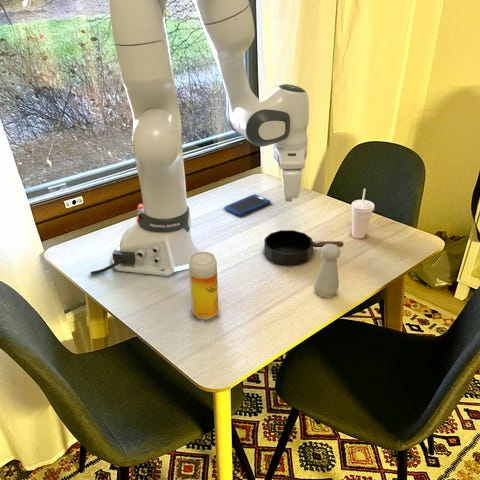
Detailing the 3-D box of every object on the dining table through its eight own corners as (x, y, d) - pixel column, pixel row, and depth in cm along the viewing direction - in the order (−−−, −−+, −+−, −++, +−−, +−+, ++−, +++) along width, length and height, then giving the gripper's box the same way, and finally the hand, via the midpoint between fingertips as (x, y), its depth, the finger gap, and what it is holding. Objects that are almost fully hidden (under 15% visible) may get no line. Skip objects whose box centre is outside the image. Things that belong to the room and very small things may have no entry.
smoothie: (367, 229, 152) (374, 184, 144) (371, 240, 147) (379, 194, 139) (345, 230, 152) (351, 185, 143) (349, 241, 147) (356, 195, 138)
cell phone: (270, 202, 166) (270, 200, 166) (239, 216, 159) (239, 214, 158) (254, 195, 171) (254, 193, 170) (223, 209, 163) (223, 206, 163)
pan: (265, 266, 137) (265, 254, 135) (263, 241, 147) (263, 230, 145) (346, 266, 137) (347, 254, 134) (339, 241, 147) (340, 230, 145)
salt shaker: (336, 301, 124) (343, 254, 116) (312, 298, 125) (317, 252, 117) (338, 287, 129) (344, 241, 121) (315, 285, 130) (319, 239, 122)
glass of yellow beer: (220, 319, 119) (218, 263, 110) (194, 322, 118) (190, 266, 109) (216, 303, 124) (213, 249, 114) (190, 307, 123) (186, 252, 114)
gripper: (276, 137, 145) (275, 184, 153) (280, 165, 129) (279, 216, 137) (298, 137, 145) (296, 183, 153) (305, 165, 129) (302, 215, 137)
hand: (288, 199), depth 145 cm, fingers closed
